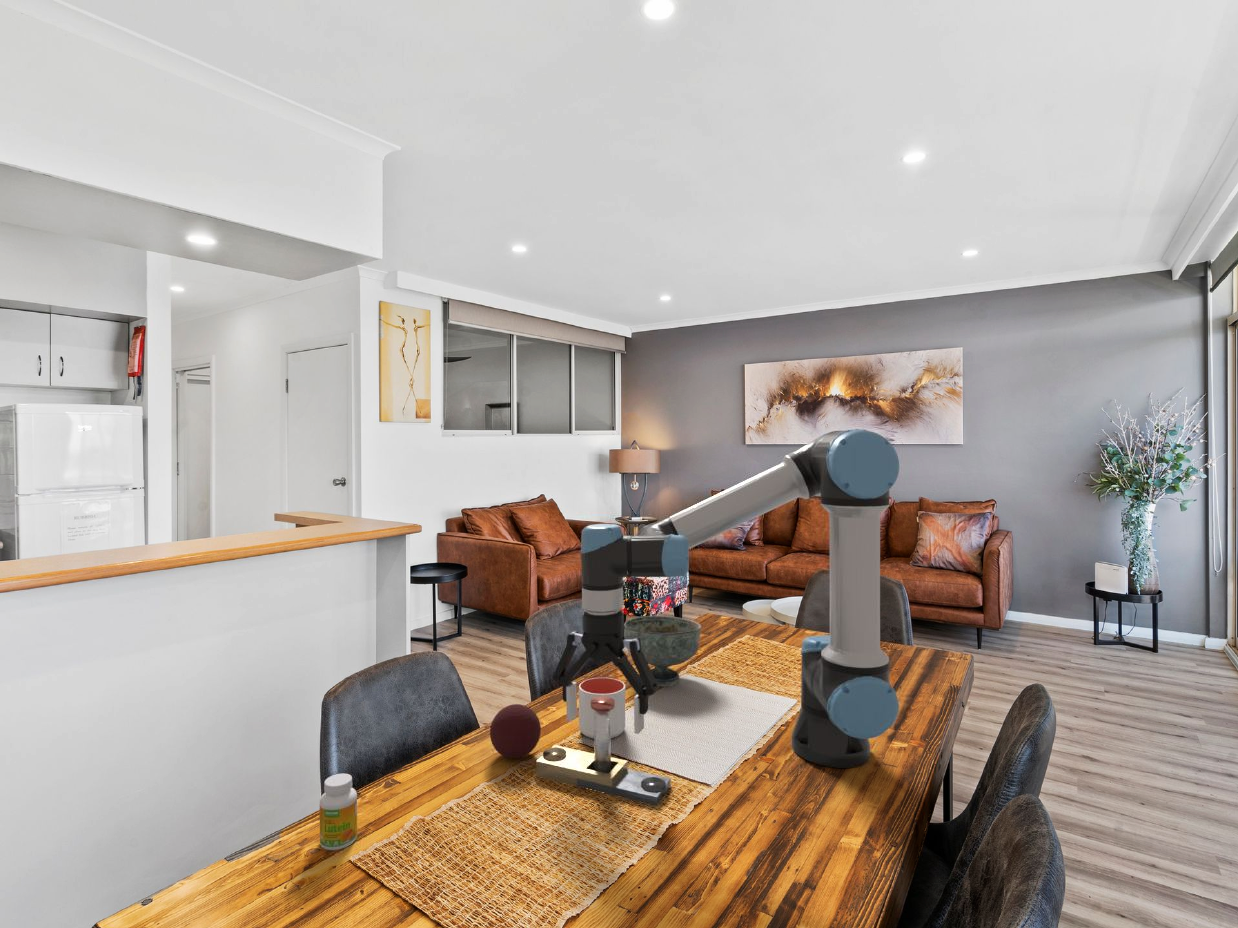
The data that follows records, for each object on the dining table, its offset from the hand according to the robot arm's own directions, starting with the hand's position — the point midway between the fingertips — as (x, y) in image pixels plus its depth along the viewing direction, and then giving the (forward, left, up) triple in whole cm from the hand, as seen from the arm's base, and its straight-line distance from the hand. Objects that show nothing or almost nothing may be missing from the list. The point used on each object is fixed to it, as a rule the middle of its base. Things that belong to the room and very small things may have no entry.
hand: (604, 724), depth 120 cm
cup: (+9, -19, -11) cm, 24 cm away
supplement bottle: (+30, +33, -11) cm, 46 cm away
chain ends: (0, 0, -11) cm, 11 cm away
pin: (0, 0, -11) cm, 11 cm away
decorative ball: (+20, -2, -11) cm, 23 cm away
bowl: (+8, -54, -11) cm, 56 cm away
